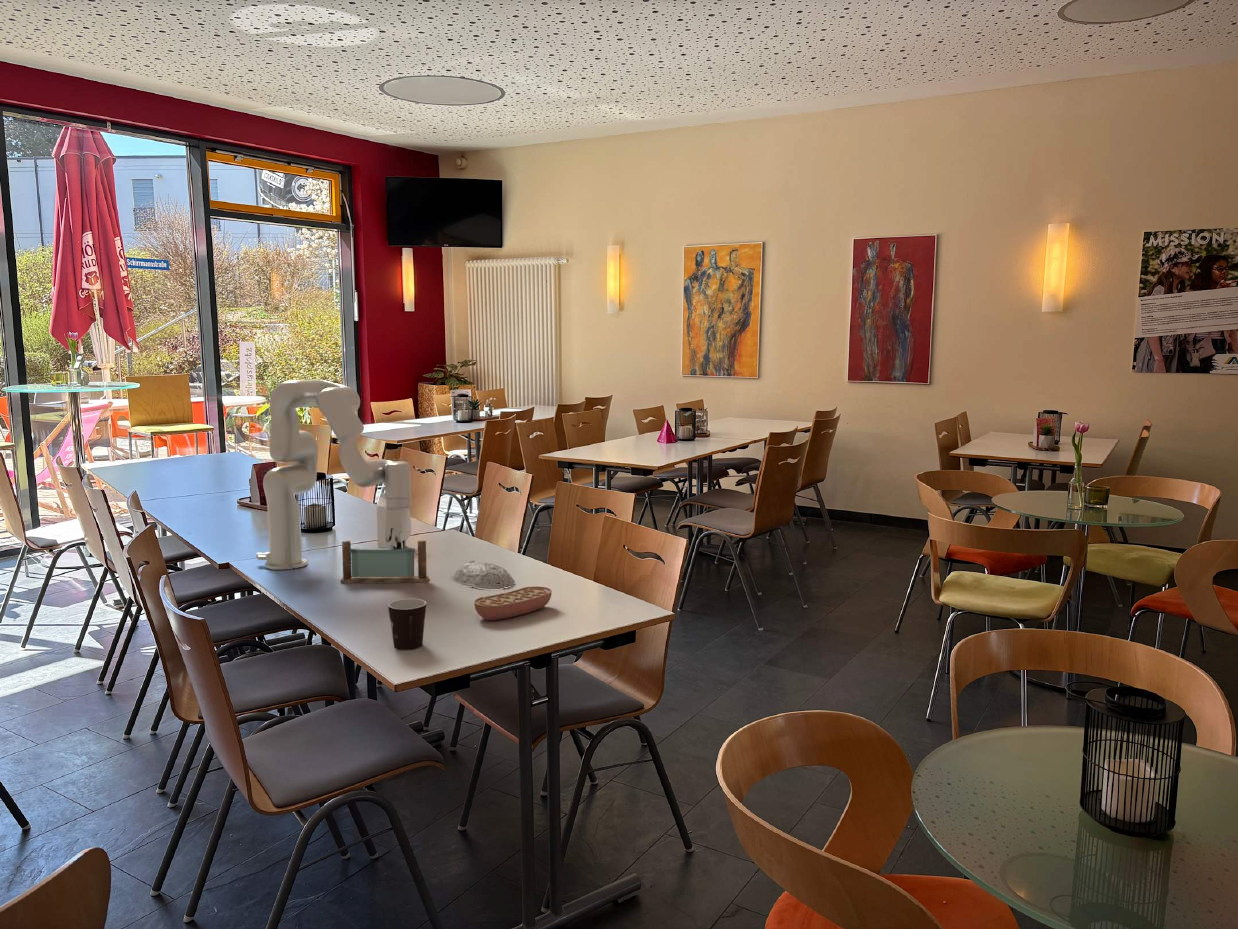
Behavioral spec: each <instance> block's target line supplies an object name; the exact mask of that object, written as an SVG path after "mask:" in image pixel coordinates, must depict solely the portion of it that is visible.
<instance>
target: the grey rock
mask: <svg viewBox="0 0 1238 929" xmlns="http://www.w3.org/2000/svg"><path fill="white" fill-rule="evenodd" d="M451 579H452V580H453V579H454V580H453V581H454V582H455V581H456V583H458V582H459V583H458V584H460V583H461V584H460V585H462V584H463V585H462V586H464V585H465V586H464V587H466V586H467V588H472V587H473V589H478V590H482V589H484V590H483V591H488V590H487V589H501V588H504V587H509V586H512V585H514V583H515V582H516V581H515V579H514V578H513V577H512V575H511V574H510V573H509V572H508V571H507V569H505V568H504V567H502V566H501V565H497V564H493V563H489V562H487V561H474V560H473V559H472V560H469V562H466V563H463V564H462V565H460V566H459V567H458V568H457V569H456V570H455V572H454V574H453V575H452V576H451ZM515 584H516V583H515ZM514 586H515V585H514ZM512 587H513V586H512ZM509 588H510V587H509ZM485 589H486V590H485ZM501 590H502V589H501Z"/></svg>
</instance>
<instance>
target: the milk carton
mask: <svg viewBox="0 0 1238 929" xmlns="http://www.w3.org/2000/svg"><path fill="white" fill-rule="evenodd" d="M386 510H387V509H386V505H385V492H381V493H380V497H379V500H378V502H377V504H376V527H377V528H376V529H377V530H376V531H377V532H376V533H377V534H376V536H377V549H393V547H391V541H389V542H386V541H385V519H386Z"/></svg>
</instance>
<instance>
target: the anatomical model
mask: <svg viewBox="0 0 1238 929" xmlns="http://www.w3.org/2000/svg"><path fill="white" fill-rule="evenodd" d="M552 592H553V590H552V589H550V588H549V587H545V586H535V585H534V586H525V587H522V588H518V589H514V590H512V591H506V592H504V593H500V594H499V593H497V594H494V595H488V596H482V597H481V596H480V597H478V598H477V599H475V600H474V602H473V603H474V608H475V611H476V613H477V614H478V615H479V617H481V618H482V619H484V620H487V621H498V619H499V620H504V619H508V618H513V617H517V616H521V615H525V614H528V613H532V612H534V611H537V610H540V609H542V608H544V607H546V605H548V603H549V602H550V600H551V598H552V594H553V593H552Z"/></svg>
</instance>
